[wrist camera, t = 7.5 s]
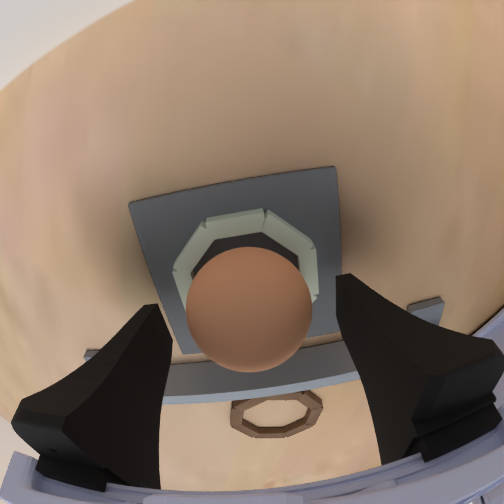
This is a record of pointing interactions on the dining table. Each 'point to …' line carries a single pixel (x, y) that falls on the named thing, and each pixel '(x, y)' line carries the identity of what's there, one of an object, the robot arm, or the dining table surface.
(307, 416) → the ring
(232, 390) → the grey long bar
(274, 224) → the pad
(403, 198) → the dining table surface
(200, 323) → the ball
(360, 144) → the dining table surface
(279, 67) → the dining table surface
